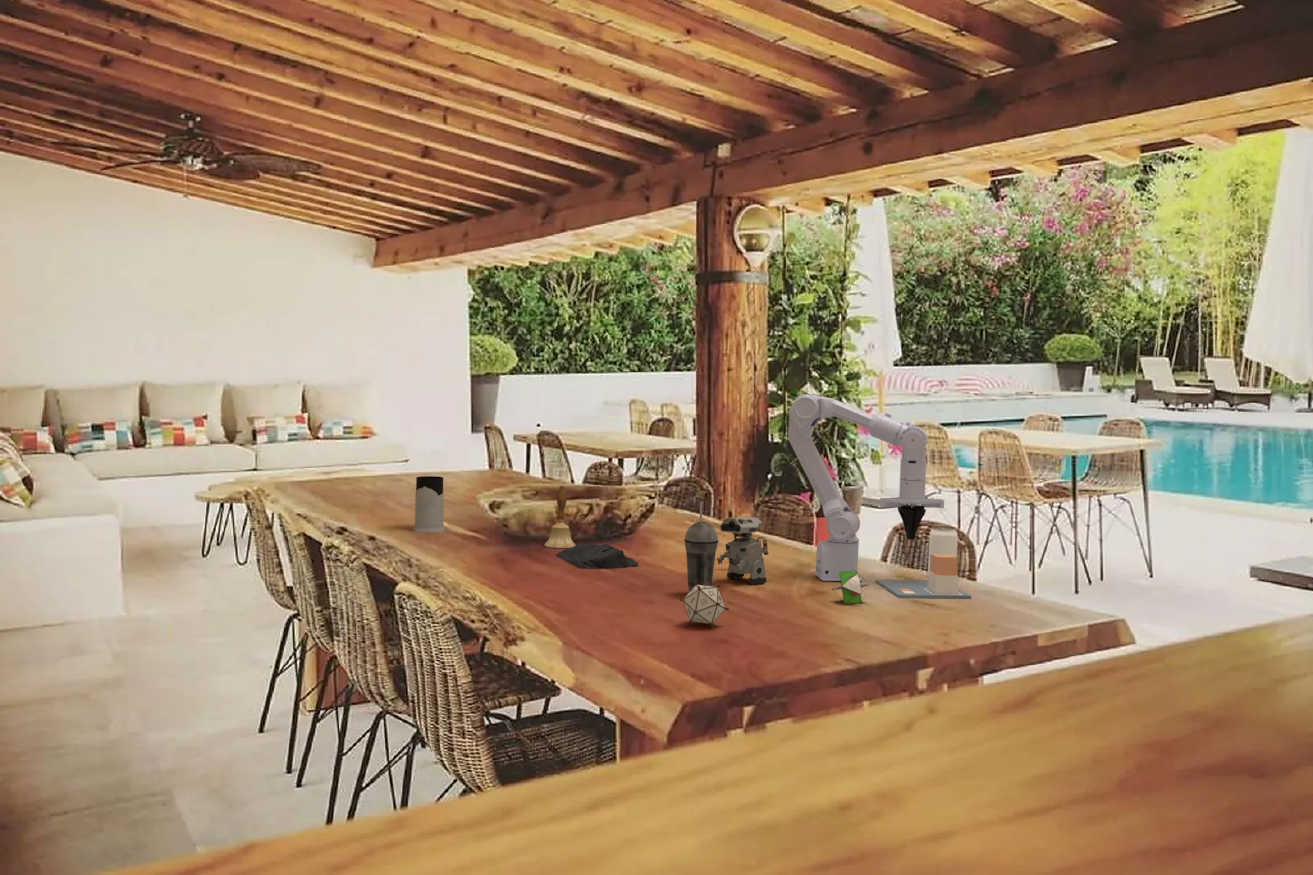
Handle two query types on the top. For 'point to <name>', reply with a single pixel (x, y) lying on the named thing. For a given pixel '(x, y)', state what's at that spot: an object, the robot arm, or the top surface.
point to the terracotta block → (943, 565)
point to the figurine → (744, 549)
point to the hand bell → (560, 525)
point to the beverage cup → (700, 552)
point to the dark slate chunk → (596, 557)
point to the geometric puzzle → (850, 587)
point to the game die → (704, 604)
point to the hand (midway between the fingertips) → (910, 539)
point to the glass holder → (429, 504)
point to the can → (942, 541)
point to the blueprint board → (916, 589)
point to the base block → (942, 584)
